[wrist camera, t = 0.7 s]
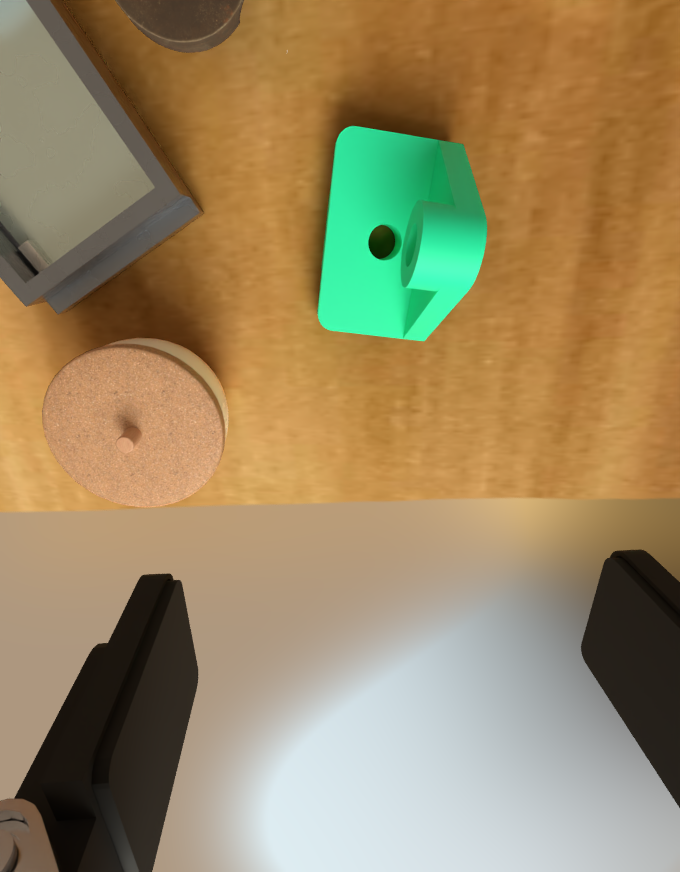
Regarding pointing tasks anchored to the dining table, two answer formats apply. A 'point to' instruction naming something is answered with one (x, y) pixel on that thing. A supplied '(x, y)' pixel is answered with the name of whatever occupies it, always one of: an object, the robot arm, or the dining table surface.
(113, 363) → the lidded jar
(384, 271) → the camera mount
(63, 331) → the dining table surface
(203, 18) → the industrial component
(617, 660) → the robot arm
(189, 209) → the pocket plate
